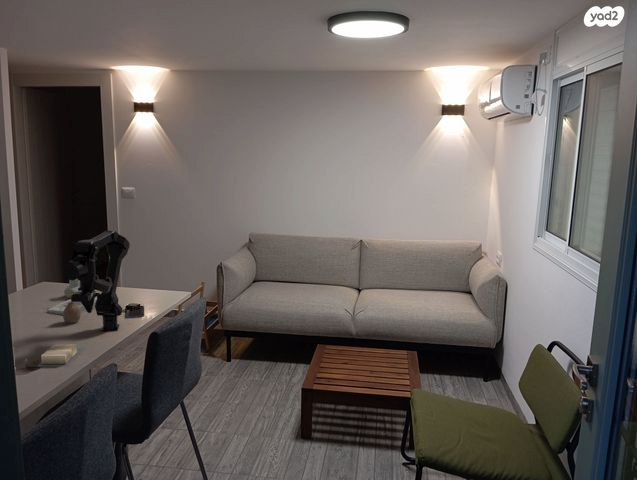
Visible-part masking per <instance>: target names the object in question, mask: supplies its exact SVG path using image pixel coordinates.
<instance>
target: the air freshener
mask: <svg viewBox="0 0 637 480" xmlns="http://www.w3.org/2000/svg"><path fill="white" fill-rule="evenodd" d="M68 280H69V279H68ZM68 283H69V285H68V286H66V288H65V289H64V291H63V292H64V295H65V296H66V297H67V298H69V299H71V296H72V295H73V294H74V293H75V292H82V291H78V288H79V287H80V280H77V279H76V280H69V281H68Z"/></svg>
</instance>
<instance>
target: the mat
mask: <svg viewBox="0 0 637 480" xmlns="http://www.w3.org/2000/svg"><path fill="white" fill-rule="evenodd" d="M86 349H87V348H86V347H77V353H76V354H75V355H74V356H73V357H72V358H71V359H70V360H69V361H68V362H67V363H66V364H42V360H41V361H40V362H39V363H40V365H38V364H37V365H38V366H37V365H36V366H35V367H37V368H38V367H44V368H45V367H70V366H71V365H72V363H74V362H75V361H76V359H78V358H79V356H81V354H82V353H83V352H85V350H86Z"/></svg>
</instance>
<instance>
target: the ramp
mask: <svg viewBox="0 0 637 480" xmlns="http://www.w3.org/2000/svg"><path fill="white" fill-rule="evenodd" d="M96 300H97V297H96V298H95V300H94V304H93V308H92V310H96V309H95V303H96ZM70 302H71V298H69V299H68V300H65V301H63V302H61V303H58V304H55V305H54V306H52V307H51V308H49V309H47V313H49V314H55V315H62V316H63V311H64V309H65V308H66V306H67V305H68V303H70ZM74 303H75V305H76V306H77V307H78V308H79V309H80V312H81V313H83V312H87V311H86V309H85V307H84V306H83V304H82V303H81V302H74Z"/></svg>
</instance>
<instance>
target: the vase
mask: <svg viewBox="0 0 637 480" xmlns="http://www.w3.org/2000/svg"><path fill="white" fill-rule="evenodd" d="M81 313H82V312H80V309H79V308H78V307H77V306H76V305H75V303H74V302H70V303H68V305H67V306H66V308H65V309H64V311H63V315H62V317H63V321H64V322H65V323H66V324H69V325H73V324H77V323H78V322H79V321H80V320H81V317H82V316H81Z"/></svg>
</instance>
